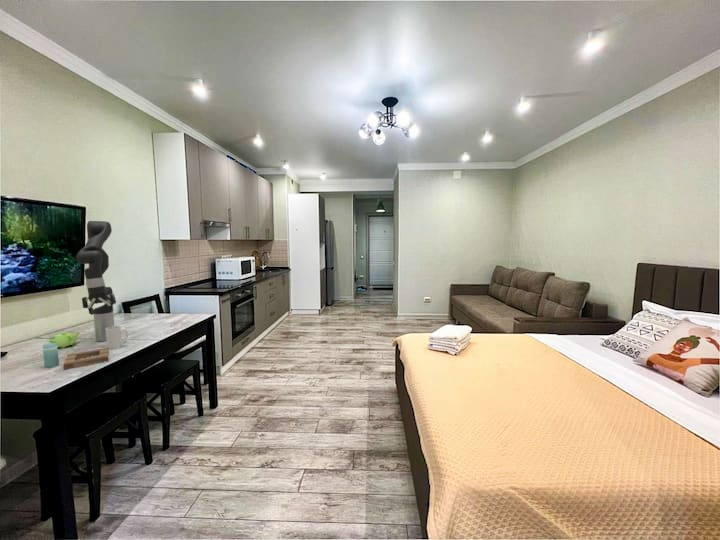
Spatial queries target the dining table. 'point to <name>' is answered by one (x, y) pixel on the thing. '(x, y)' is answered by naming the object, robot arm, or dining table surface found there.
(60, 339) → the teapot
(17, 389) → the dining table surface
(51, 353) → the teal cylinder
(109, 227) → the robot arm
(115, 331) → the mug
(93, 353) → the wooden trivet
